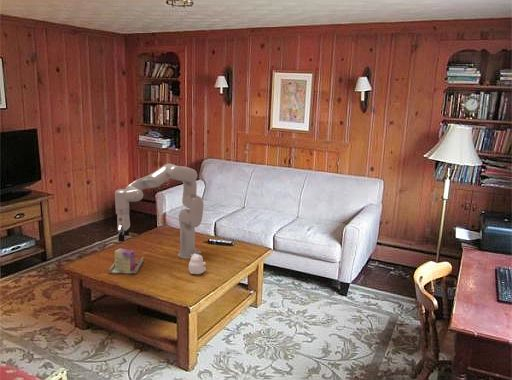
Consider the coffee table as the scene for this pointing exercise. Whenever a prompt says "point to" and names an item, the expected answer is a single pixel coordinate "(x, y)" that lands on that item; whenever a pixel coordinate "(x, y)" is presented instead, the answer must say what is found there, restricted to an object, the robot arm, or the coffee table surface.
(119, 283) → the coffee table surface
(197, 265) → the figurine
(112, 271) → the rack
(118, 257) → the box
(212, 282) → the coffee table surface
